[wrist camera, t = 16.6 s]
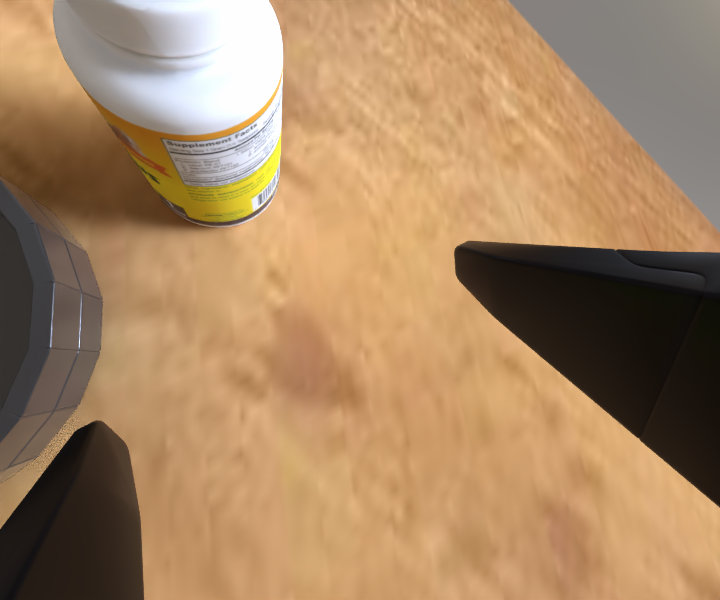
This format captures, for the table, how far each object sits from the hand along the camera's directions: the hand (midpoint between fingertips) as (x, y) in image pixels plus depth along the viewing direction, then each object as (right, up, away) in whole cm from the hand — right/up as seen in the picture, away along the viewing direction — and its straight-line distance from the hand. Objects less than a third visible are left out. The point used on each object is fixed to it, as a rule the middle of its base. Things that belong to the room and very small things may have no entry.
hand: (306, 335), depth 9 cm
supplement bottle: (-5, +7, +9) cm, 12 cm away
